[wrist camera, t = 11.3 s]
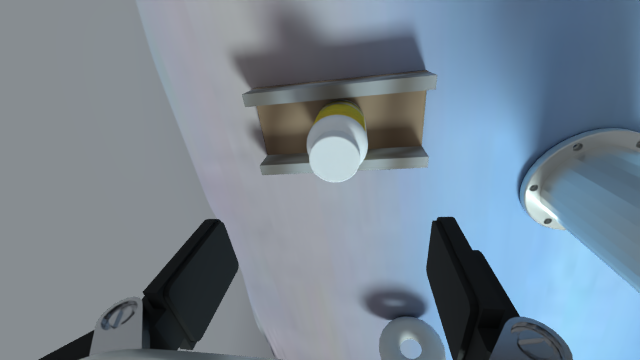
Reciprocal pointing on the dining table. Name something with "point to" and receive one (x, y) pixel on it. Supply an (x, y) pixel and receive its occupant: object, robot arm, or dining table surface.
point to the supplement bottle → (337, 141)
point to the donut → (410, 329)
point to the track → (374, 101)
